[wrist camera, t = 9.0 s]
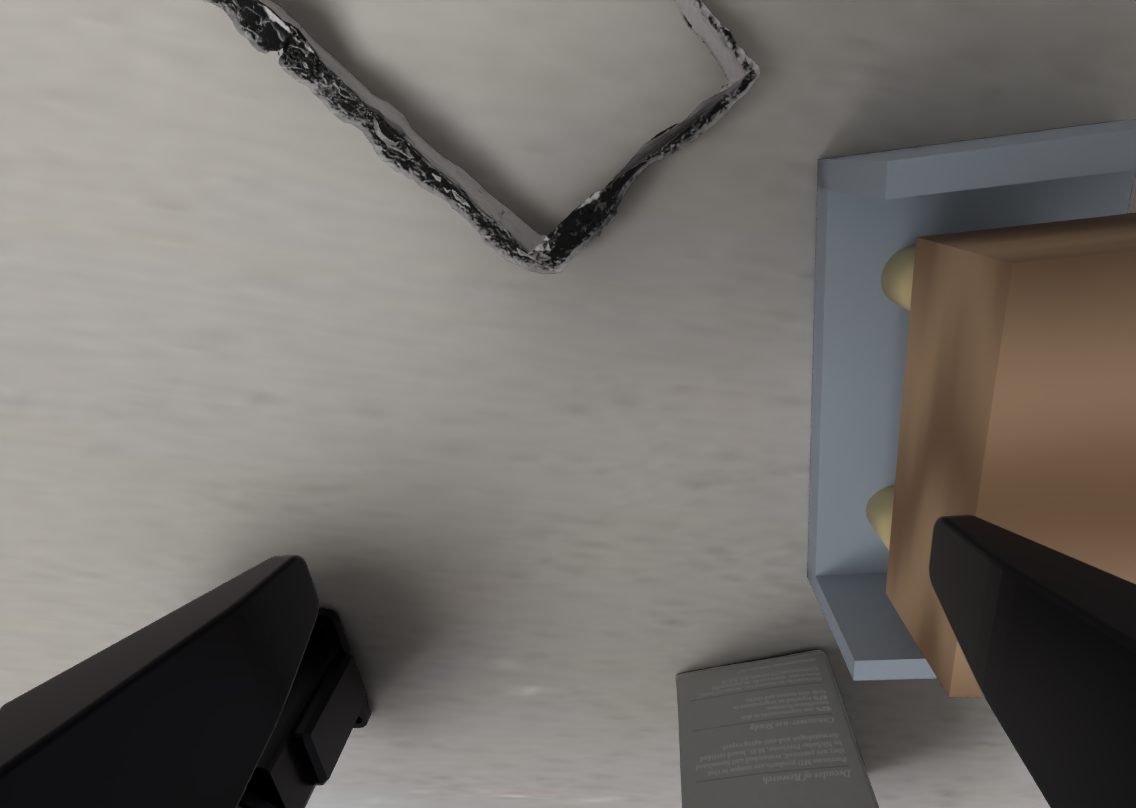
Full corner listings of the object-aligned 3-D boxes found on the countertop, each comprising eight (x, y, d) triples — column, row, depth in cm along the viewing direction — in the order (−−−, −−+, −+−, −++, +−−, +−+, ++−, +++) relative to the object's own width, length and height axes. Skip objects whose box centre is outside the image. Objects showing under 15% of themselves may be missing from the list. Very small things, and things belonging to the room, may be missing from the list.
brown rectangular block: (1057, 585, 18) (1165, 692, 15) (885, 592, 19) (948, 697, 15) (1137, 212, 14) (1314, 231, 11) (916, 237, 15) (1012, 263, 11)
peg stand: (1031, 565, 22) (1139, 672, 18) (807, 576, 23) (853, 681, 19) (1117, 120, 17) (1305, 107, 12) (818, 159, 18) (887, 161, 13)
